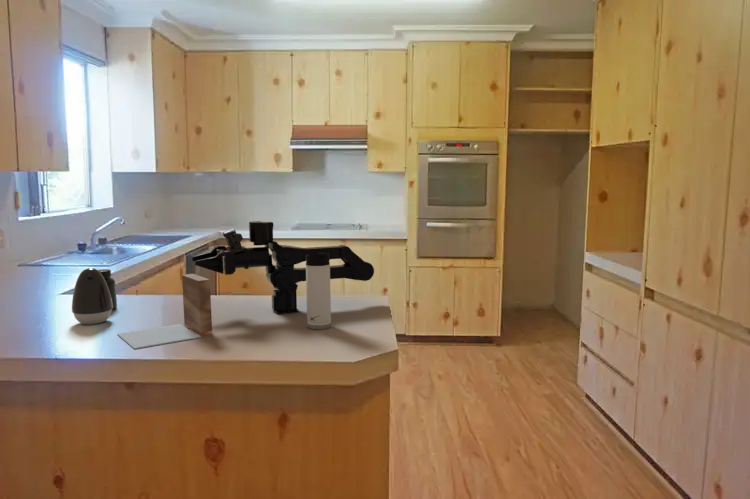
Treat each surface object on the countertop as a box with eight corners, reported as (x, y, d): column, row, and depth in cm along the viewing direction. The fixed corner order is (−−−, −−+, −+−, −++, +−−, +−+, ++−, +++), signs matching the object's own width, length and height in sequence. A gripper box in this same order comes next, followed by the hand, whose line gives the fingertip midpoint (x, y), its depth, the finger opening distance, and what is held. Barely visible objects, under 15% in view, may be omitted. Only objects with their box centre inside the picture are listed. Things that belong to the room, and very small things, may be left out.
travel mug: (313, 331, 151) (311, 254, 148) (303, 325, 156) (302, 251, 154) (335, 328, 154) (333, 252, 151) (325, 322, 159) (324, 249, 157)
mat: (180, 324, 158) (180, 323, 158) (201, 337, 146) (201, 336, 146) (117, 334, 149) (117, 333, 149) (134, 349, 136) (134, 348, 136)
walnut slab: (195, 324, 159) (193, 273, 157) (212, 333, 149) (209, 279, 148) (184, 326, 157) (181, 274, 155) (200, 335, 148) (198, 280, 146)
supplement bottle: (97, 307, 182) (95, 268, 180) (120, 306, 182) (117, 268, 181) (88, 312, 175) (85, 272, 173) (112, 311, 175) (109, 271, 174)
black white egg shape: (71, 328, 155) (67, 272, 154) (74, 320, 165) (70, 266, 163) (113, 324, 159) (110, 269, 158) (113, 316, 169) (110, 264, 167)
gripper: (243, 227, 176) (189, 229, 170) (255, 232, 159) (195, 235, 153) (245, 263, 177) (191, 267, 171) (256, 272, 160) (197, 277, 154)
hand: (193, 261), depth 162 cm, fingers open, 9 cm apart
